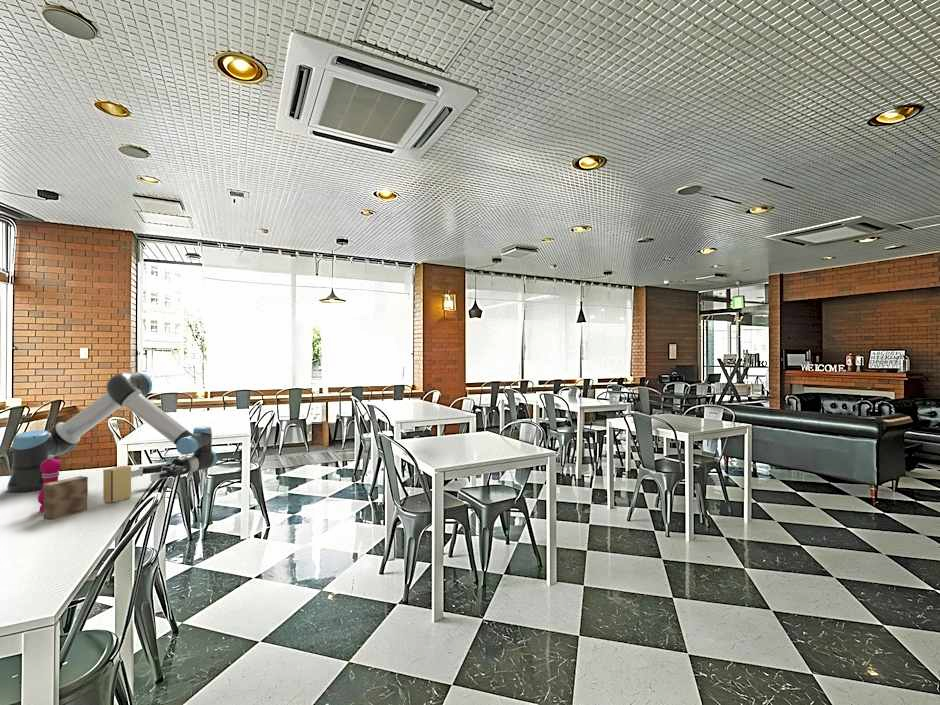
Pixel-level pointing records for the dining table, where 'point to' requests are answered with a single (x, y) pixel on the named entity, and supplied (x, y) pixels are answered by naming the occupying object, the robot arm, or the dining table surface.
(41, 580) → the dining table surface
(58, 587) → the dining table surface
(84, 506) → the block
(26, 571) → the dining table surface
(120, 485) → the stub
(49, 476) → the pepper mill
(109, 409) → the robot arm
